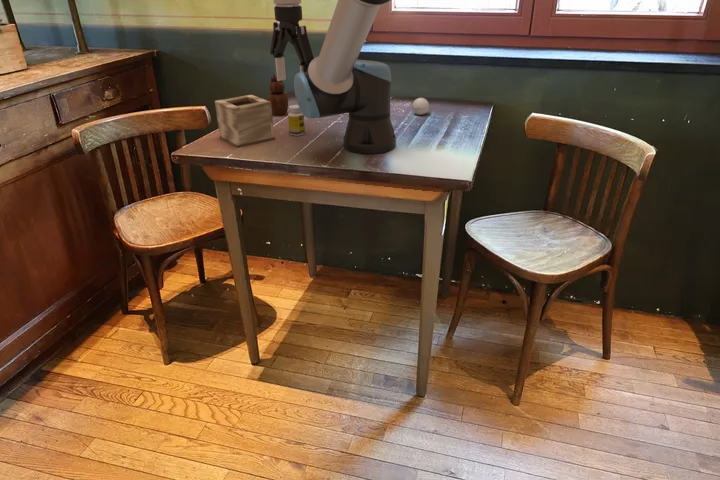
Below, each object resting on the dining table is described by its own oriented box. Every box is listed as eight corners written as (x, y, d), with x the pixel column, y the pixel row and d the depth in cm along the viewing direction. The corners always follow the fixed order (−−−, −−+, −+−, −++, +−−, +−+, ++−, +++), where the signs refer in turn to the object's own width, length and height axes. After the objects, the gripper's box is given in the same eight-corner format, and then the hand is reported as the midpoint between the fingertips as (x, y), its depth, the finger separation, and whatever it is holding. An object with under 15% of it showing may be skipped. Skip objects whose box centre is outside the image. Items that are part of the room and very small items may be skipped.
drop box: (274, 138, 153) (270, 102, 148) (237, 147, 147) (232, 109, 142) (255, 129, 162) (251, 94, 156) (220, 137, 155) (214, 100, 150)
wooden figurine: (291, 112, 179) (287, 68, 172) (286, 117, 174) (282, 71, 167) (272, 111, 180) (268, 67, 173) (267, 116, 175) (262, 71, 168)
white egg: (415, 111, 178) (415, 95, 176) (430, 113, 176) (431, 96, 173) (407, 117, 172) (407, 100, 170) (423, 119, 170) (423, 102, 167)
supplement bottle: (302, 136, 155) (300, 108, 151) (287, 135, 156) (285, 108, 152) (306, 131, 159) (305, 104, 155) (292, 131, 160) (290, 104, 156)
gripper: (324, 7, 134) (328, 89, 144) (276, 1, 151) (282, 75, 161) (300, 9, 130) (305, 94, 140) (253, 2, 147) (261, 78, 157)
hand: (293, 84), depth 151 cm, fingers open, 13 cm apart
